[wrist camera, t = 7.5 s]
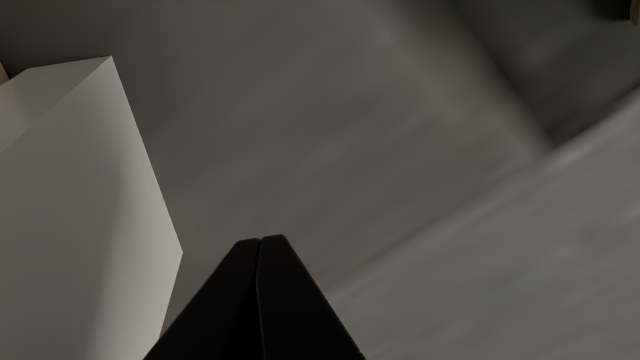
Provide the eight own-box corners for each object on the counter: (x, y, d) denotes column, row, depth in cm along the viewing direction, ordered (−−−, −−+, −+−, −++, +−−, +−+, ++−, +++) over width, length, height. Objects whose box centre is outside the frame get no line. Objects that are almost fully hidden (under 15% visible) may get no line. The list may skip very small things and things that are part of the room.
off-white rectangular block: (183, 252, 14) (110, 510, 8) (112, 263, 14) (-14, 528, 8) (111, 55, 11) (-91, 232, 5) (21, 69, 11) (-285, 262, 5)
